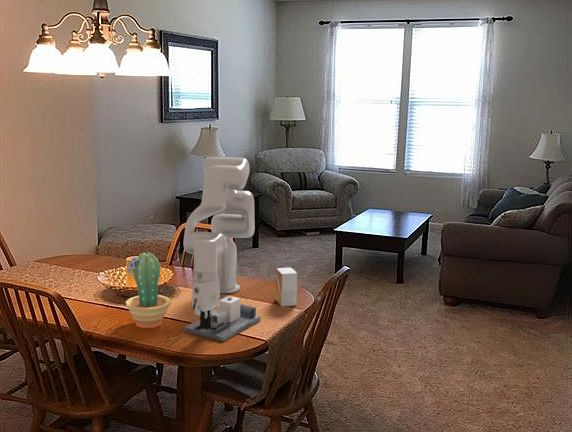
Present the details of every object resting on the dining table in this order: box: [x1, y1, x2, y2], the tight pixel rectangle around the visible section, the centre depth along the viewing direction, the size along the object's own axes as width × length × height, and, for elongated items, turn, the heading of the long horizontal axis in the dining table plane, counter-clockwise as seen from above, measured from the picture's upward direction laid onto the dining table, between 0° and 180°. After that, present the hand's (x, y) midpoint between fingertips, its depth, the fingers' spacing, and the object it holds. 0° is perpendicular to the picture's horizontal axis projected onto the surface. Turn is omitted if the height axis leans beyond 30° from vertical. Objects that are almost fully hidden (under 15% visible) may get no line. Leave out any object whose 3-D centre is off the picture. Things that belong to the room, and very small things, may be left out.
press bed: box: [184, 303, 261, 342], centre depth 218 cm, size 16×23×4 cm
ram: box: [210, 308, 228, 329], centre depth 215 cm, size 5×8×4 cm, turn 151°
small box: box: [275, 267, 298, 307], centre depth 243 cm, size 8×6×13 cm
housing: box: [218, 295, 241, 322], centre depth 220 cm, size 5×6×8 cm
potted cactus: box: [125, 252, 172, 329], centre depth 216 cm, size 15×15×25 cm
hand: (205, 327), depth 209 cm, fingers closed
